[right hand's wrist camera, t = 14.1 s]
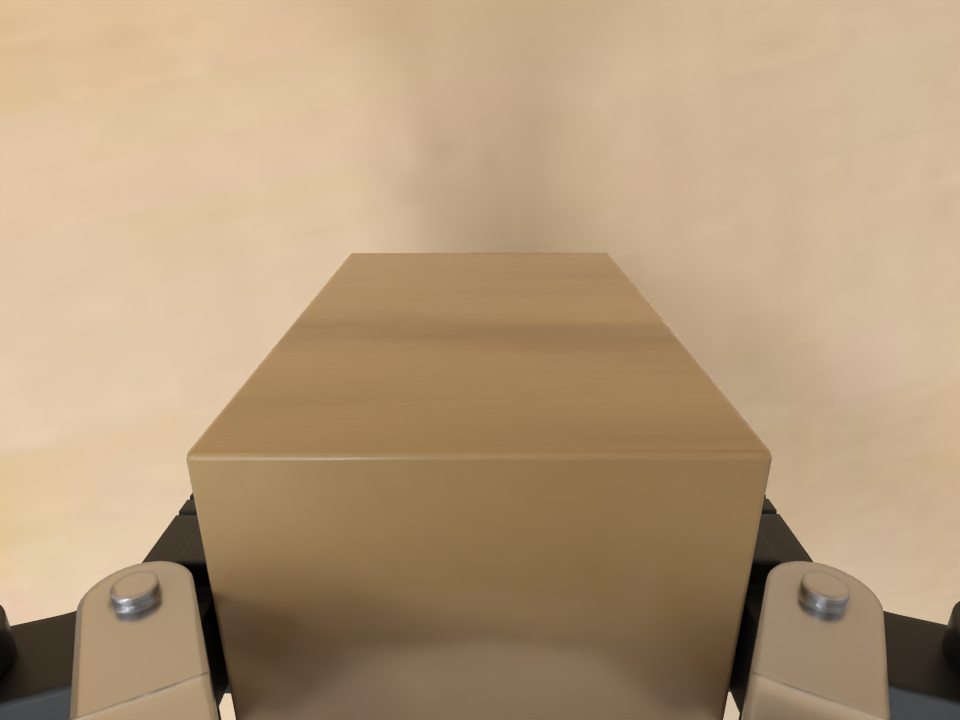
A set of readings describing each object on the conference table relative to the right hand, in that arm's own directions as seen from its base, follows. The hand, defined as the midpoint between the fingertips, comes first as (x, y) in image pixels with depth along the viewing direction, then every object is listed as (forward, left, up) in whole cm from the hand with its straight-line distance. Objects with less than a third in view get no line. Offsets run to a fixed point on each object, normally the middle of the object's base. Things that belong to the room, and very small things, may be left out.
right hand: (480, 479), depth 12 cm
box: (+6, -4, -6) cm, 9 cm away
